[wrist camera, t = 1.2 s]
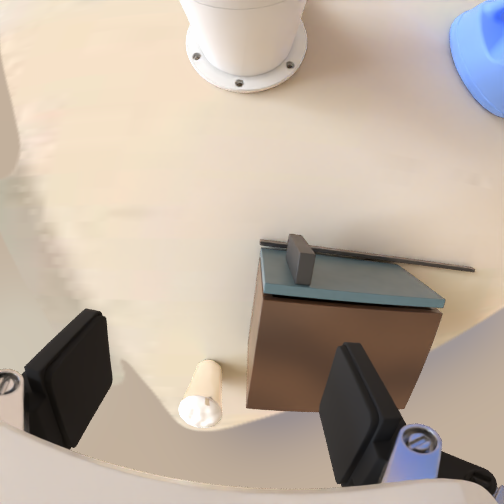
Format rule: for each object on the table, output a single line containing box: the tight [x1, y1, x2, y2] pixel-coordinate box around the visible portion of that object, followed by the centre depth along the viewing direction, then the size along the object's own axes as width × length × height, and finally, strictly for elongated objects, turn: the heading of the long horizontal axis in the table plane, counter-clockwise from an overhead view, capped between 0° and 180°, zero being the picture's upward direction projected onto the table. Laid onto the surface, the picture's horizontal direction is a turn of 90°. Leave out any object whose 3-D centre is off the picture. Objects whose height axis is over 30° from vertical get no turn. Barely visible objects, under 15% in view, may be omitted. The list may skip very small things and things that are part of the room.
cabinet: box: [246, 239, 475, 412], centre depth 30 cm, size 12×28×12 cm, turn 83°
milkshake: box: [179, 360, 222, 428], centre depth 33 cm, size 5×5×10 cm
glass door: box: [260, 234, 445, 308], centre depth 28 cm, size 3×16×11 cm, turn 83°
